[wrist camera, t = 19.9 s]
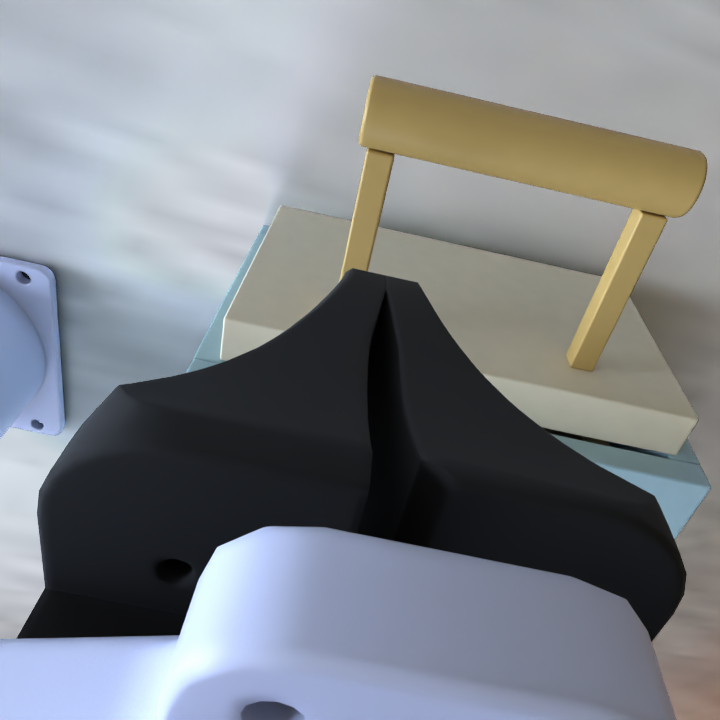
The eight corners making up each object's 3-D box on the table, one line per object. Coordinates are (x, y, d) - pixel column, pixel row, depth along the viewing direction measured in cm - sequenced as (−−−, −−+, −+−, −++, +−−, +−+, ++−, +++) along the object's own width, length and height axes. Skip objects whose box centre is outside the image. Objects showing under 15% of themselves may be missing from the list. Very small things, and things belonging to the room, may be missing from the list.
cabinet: (262, 224, 22) (182, 376, 15) (616, 302, 23) (713, 488, 15) (222, 542, 32) (160, 736, 24) (476, 591, 32) (492, 797, 25)
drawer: (307, 15, 18) (248, 61, 12) (703, 109, 18) (842, 199, 12) (234, 526, 30) (187, 682, 24) (479, 575, 30) (494, 739, 24)
